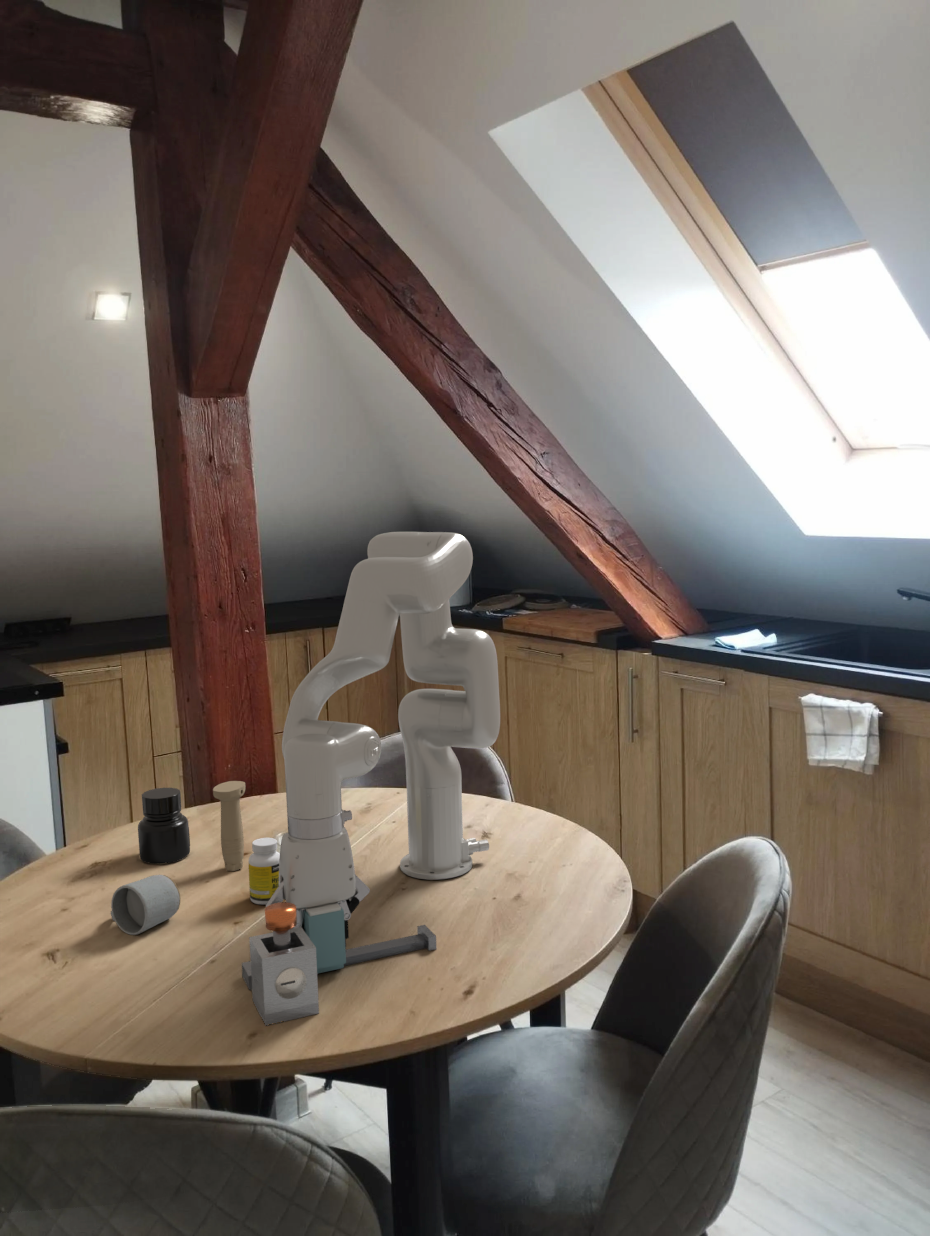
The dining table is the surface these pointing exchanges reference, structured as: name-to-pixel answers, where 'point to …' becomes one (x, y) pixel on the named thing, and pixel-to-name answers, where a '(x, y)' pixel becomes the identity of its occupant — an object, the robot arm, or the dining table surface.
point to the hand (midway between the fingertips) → (320, 947)
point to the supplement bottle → (263, 870)
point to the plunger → (281, 923)
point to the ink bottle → (163, 827)
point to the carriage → (326, 935)
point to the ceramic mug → (145, 903)
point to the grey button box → (284, 977)
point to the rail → (374, 950)
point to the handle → (231, 823)
